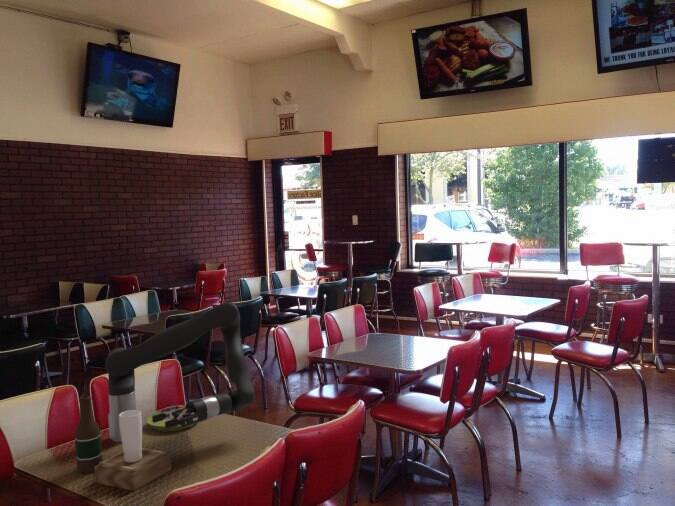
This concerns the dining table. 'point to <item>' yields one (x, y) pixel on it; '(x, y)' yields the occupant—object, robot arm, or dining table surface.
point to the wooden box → (132, 469)
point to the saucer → (161, 424)
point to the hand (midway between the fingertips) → (159, 422)
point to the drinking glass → (131, 435)
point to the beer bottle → (87, 439)
